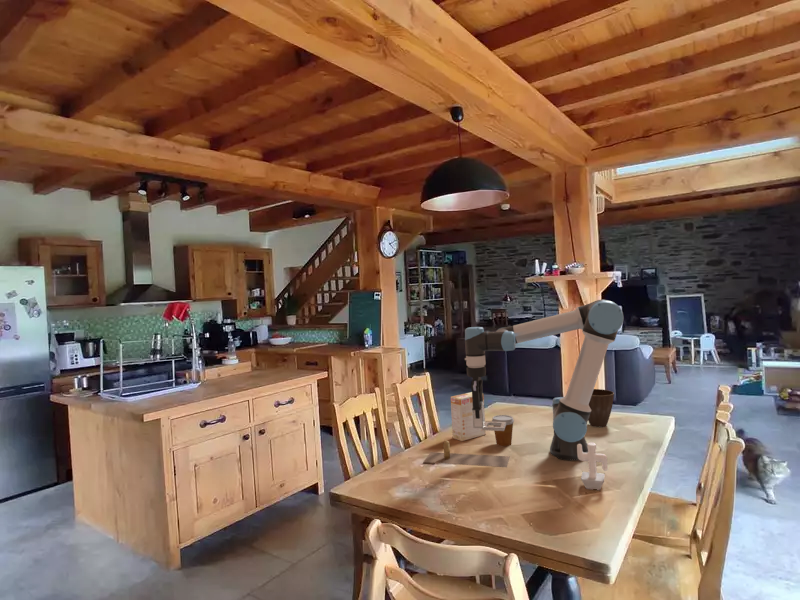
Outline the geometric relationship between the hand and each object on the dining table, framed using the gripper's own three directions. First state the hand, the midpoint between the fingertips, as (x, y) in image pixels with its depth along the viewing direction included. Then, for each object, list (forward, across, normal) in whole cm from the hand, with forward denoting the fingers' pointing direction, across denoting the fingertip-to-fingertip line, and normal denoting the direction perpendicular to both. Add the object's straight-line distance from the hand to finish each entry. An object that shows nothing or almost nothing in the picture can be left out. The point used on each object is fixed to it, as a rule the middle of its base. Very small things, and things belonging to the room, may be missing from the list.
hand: (479, 424), depth 199 cm
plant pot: (+15, -58, +48) cm, 77 cm away
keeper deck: (+15, 0, -6) cm, 16 cm away
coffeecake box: (+15, -32, -10) cm, 37 cm away
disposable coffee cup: (+15, -22, +7) cm, 27 cm away
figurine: (+15, +18, +41) cm, 47 cm away
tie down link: (+1, 0, +4) cm, 4 cm away
